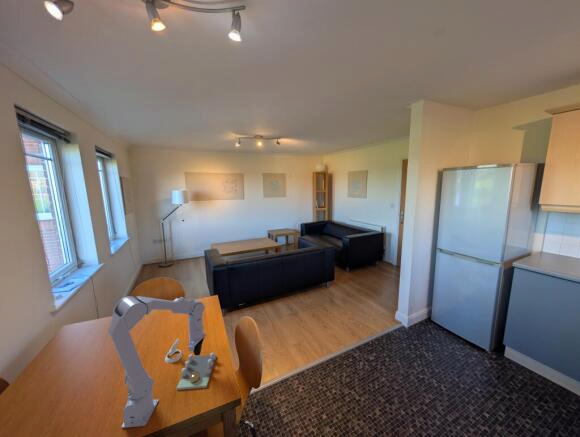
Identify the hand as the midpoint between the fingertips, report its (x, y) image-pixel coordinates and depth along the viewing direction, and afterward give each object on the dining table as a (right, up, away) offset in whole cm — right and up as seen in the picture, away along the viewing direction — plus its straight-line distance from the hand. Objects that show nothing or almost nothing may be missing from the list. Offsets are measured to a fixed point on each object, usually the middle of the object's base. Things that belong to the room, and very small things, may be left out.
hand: (197, 354), depth 99 cm
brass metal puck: (+1, -8, -5) cm, 9 cm away
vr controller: (-16, -7, +9) cm, 20 cm away
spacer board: (0, -8, 0) cm, 8 cm away
